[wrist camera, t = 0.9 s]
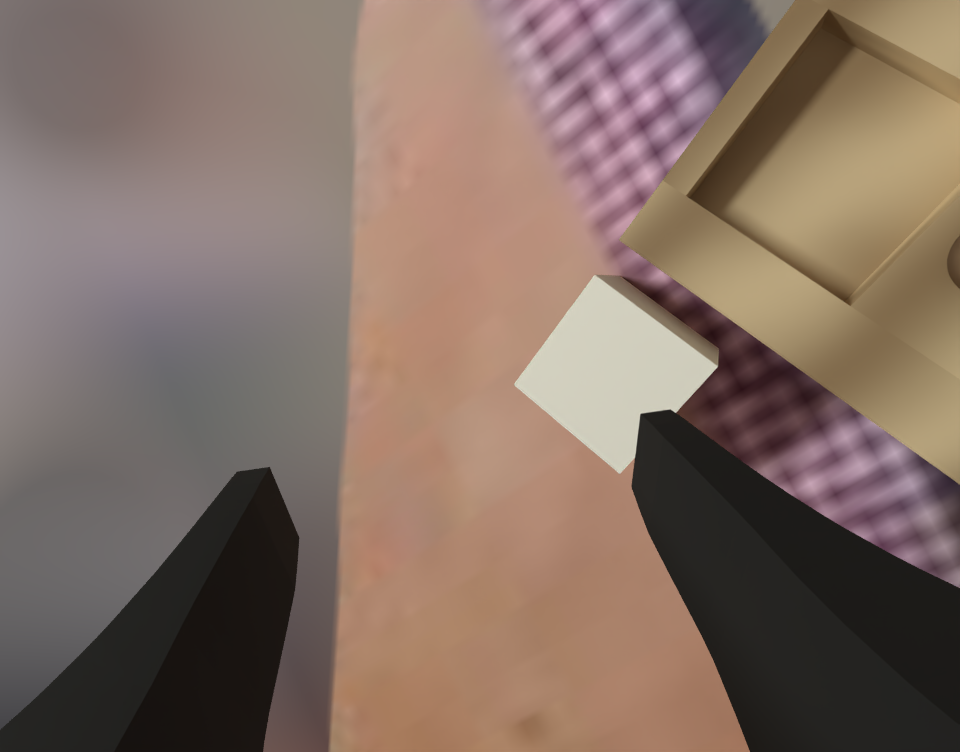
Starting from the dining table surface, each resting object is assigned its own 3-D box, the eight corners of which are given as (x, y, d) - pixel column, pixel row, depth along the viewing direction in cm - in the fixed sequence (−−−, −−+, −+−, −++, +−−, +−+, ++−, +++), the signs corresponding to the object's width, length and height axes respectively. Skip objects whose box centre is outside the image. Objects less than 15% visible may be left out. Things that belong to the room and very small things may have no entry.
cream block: (719, 348, 22) (718, 366, 17) (639, 436, 23) (620, 473, 19) (620, 275, 23) (594, 274, 18) (552, 365, 25) (513, 384, 20)
